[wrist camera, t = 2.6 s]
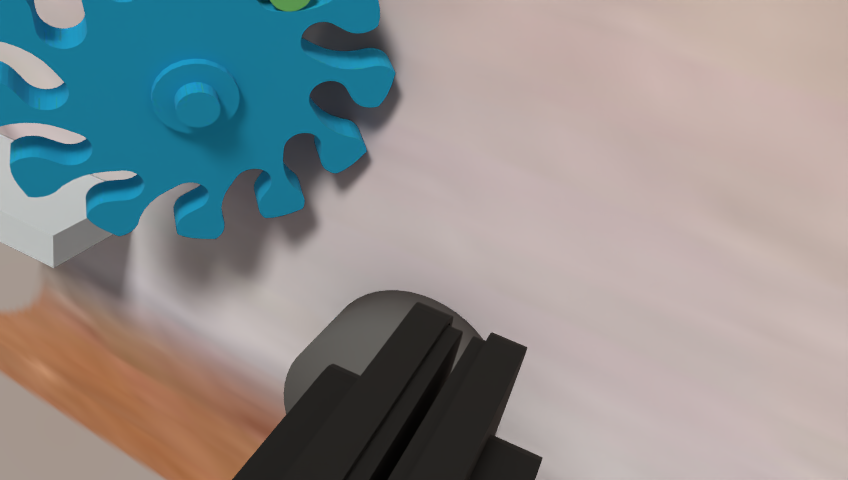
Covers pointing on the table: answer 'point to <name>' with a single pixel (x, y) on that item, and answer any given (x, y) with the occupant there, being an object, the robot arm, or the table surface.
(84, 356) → the table surface
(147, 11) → the gear
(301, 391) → the wheel
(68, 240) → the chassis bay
